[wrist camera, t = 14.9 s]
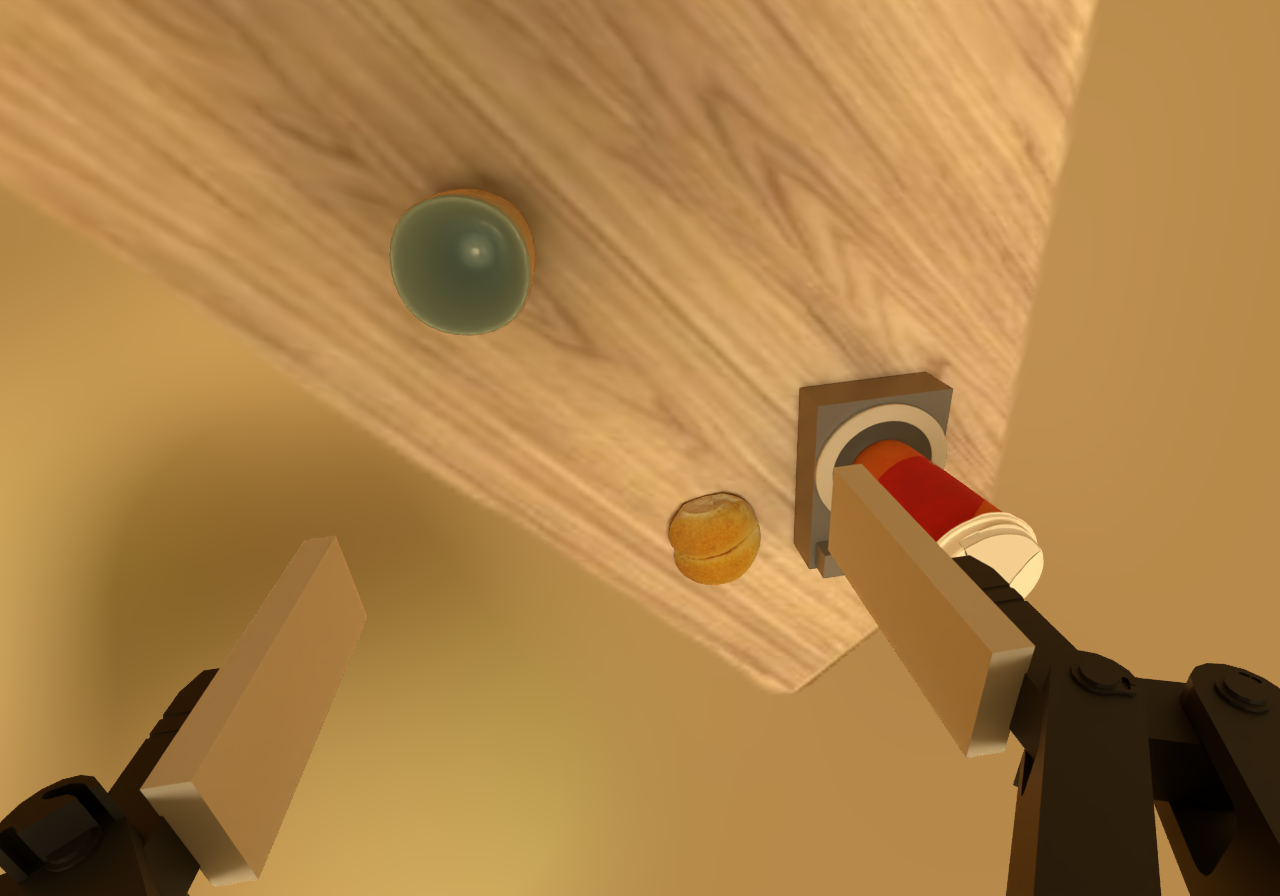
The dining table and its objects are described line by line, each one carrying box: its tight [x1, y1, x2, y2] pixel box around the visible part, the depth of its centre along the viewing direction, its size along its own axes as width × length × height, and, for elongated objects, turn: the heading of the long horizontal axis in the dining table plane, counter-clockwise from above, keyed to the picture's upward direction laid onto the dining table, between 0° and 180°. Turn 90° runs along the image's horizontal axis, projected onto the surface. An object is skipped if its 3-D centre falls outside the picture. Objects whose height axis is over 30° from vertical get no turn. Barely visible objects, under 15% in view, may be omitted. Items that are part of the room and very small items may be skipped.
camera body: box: [794, 372, 953, 578], centre depth 51 cm, size 16×11×6 cm
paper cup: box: [852, 440, 1043, 599], centre depth 42 cm, size 8×8×14 cm
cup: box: [390, 189, 535, 336], centre depth 37 cm, size 8×8×10 cm
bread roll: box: [669, 493, 761, 585], centre depth 54 cm, size 8×9×4 cm
